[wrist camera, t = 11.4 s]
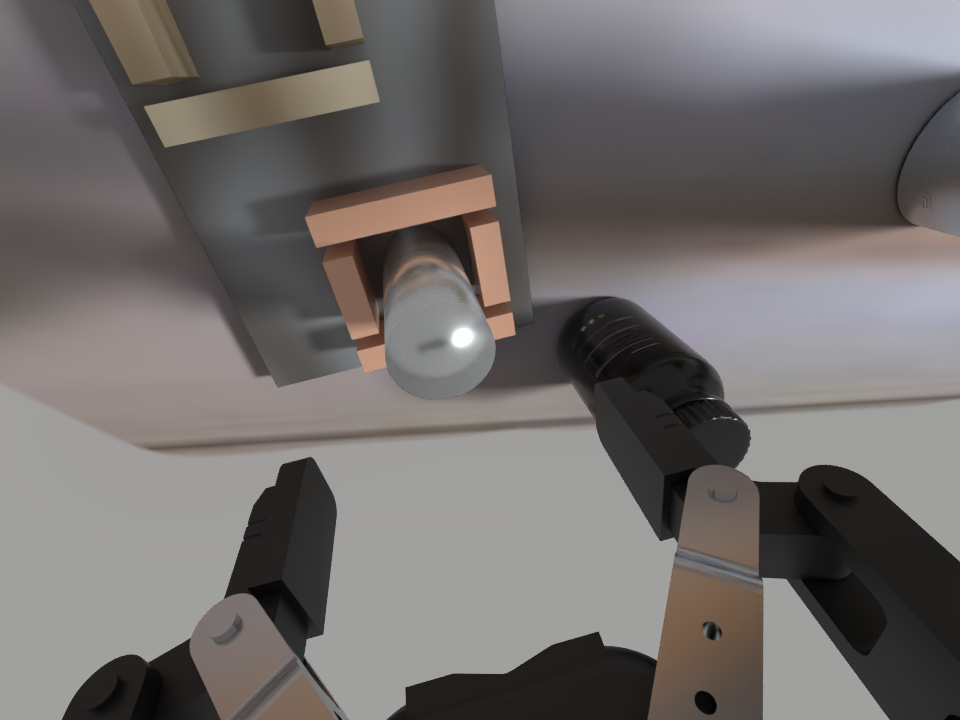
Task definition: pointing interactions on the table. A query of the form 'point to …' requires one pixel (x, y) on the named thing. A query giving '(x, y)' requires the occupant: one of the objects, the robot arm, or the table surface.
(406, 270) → the peg
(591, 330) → the supplement bottle
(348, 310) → the socket
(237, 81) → the mount board
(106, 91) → the table surface
